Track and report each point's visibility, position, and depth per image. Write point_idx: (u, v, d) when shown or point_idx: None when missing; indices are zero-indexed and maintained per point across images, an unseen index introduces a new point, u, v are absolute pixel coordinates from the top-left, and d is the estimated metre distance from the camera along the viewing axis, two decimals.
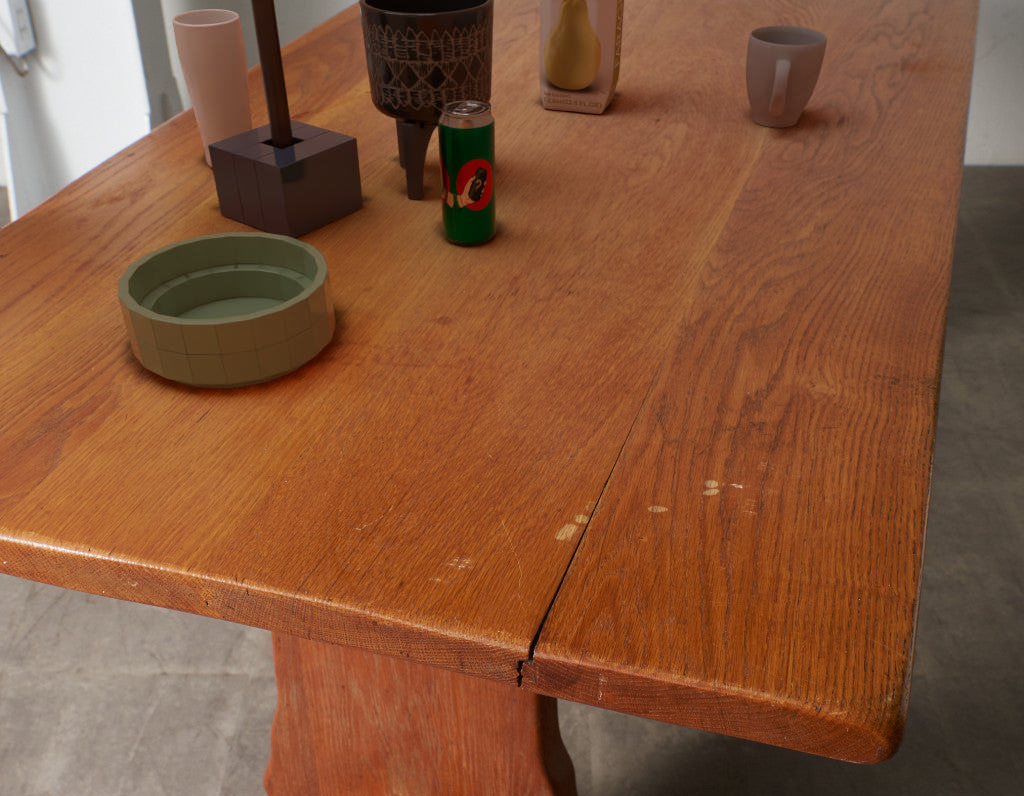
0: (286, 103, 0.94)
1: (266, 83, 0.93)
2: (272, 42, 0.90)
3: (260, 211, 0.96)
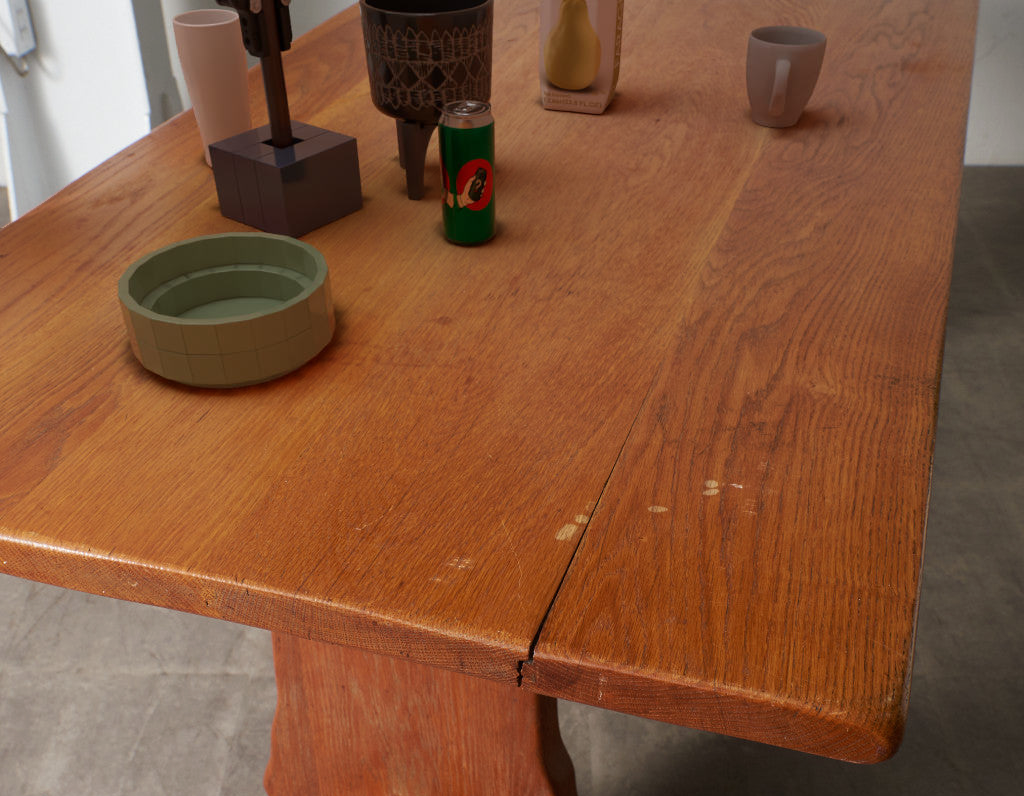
0: (287, 103, 0.94)
1: (266, 83, 0.93)
2: (272, 42, 0.90)
3: (260, 211, 0.96)
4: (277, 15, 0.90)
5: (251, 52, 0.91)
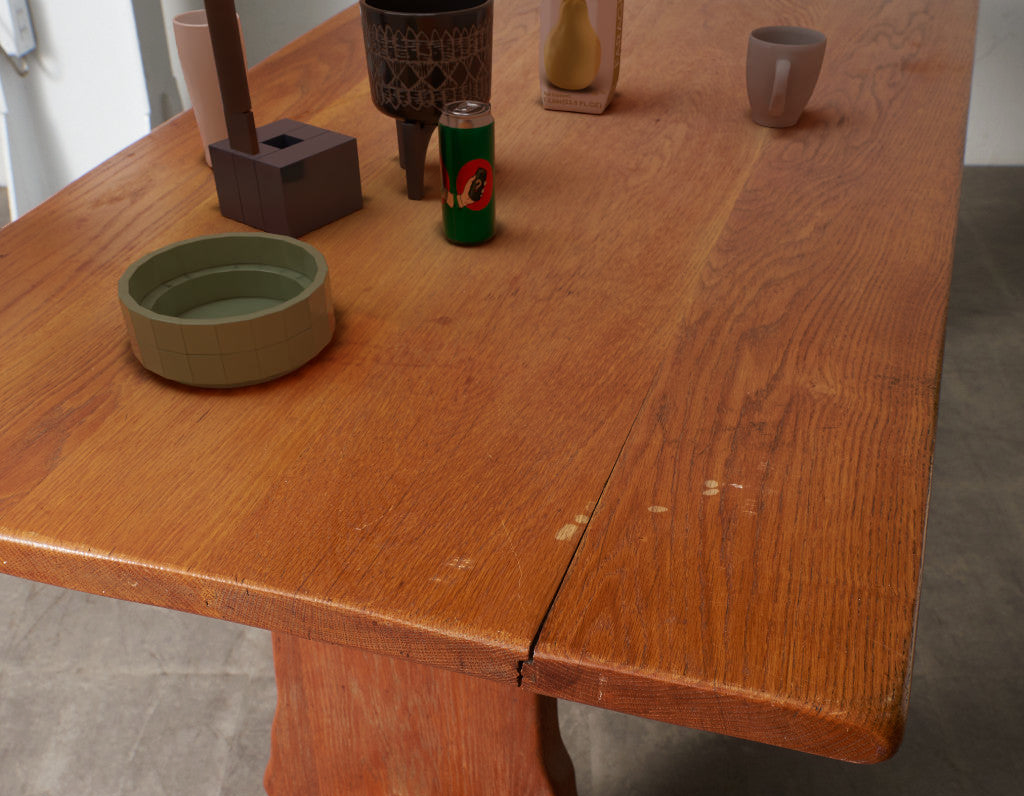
0: None
1: None
2: None
3: (260, 211, 0.96)
4: None
5: None
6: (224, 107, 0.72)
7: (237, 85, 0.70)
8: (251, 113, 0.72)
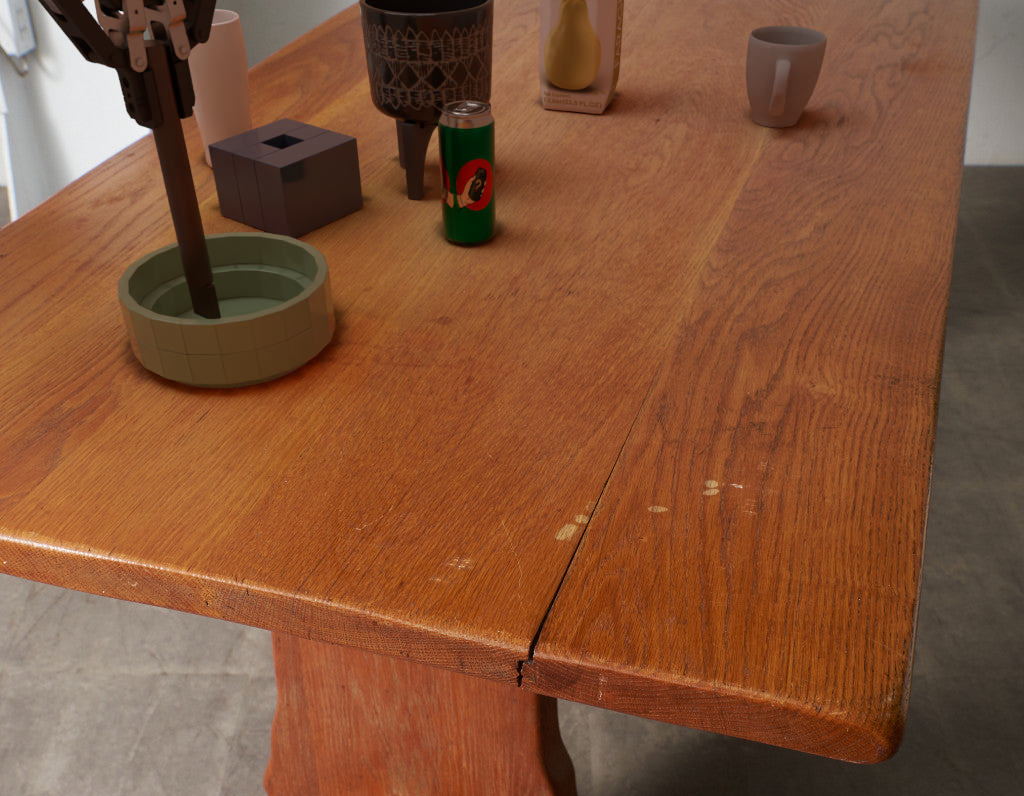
0: (191, 184, 0.72)
1: (162, 160, 0.70)
2: (167, 108, 0.68)
3: (260, 211, 0.96)
4: (172, 72, 0.68)
5: (139, 121, 0.68)
6: (187, 281, 0.76)
7: (199, 263, 0.75)
8: (212, 286, 0.76)
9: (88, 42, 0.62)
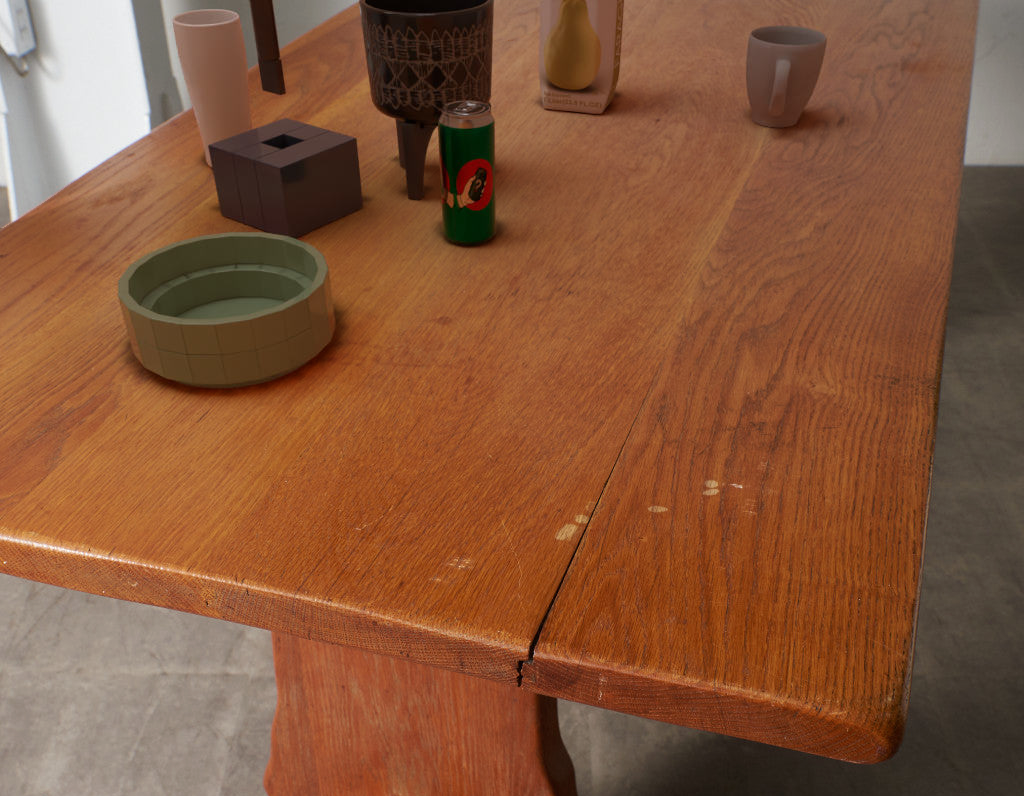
0: None
1: None
2: None
3: (260, 211, 0.96)
4: None
5: None
6: (258, 55, 0.90)
7: (269, 38, 0.89)
8: (280, 60, 0.91)
9: None
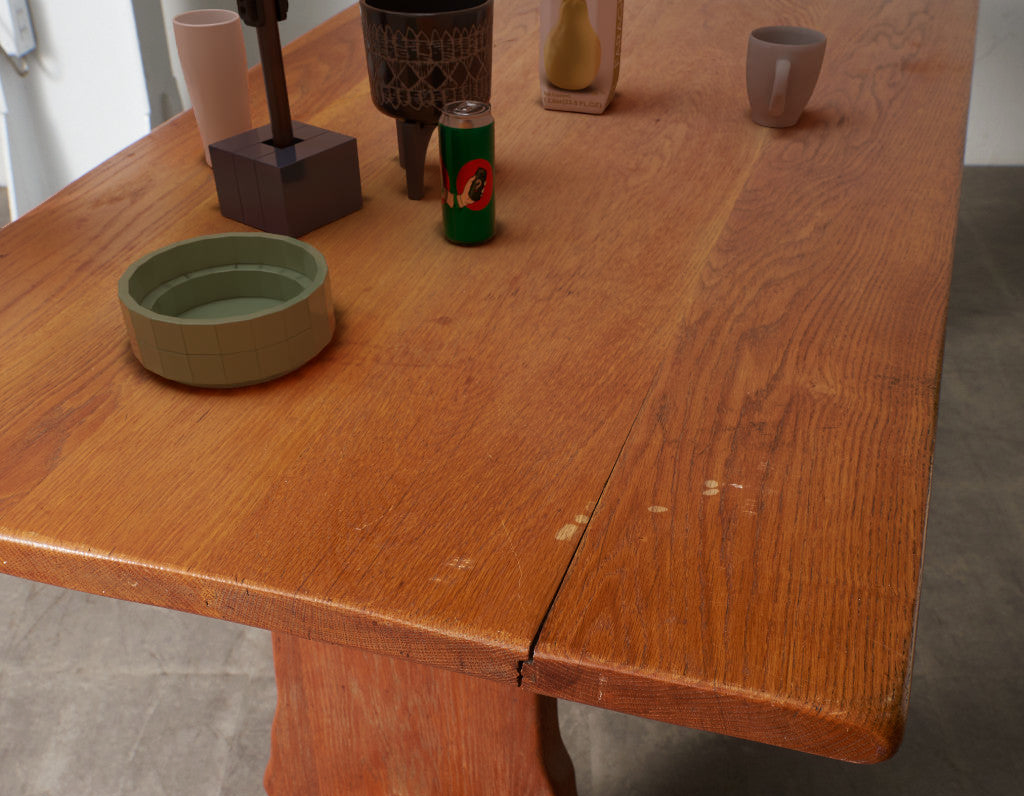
0: (283, 75, 0.93)
1: (262, 54, 0.91)
2: (269, 11, 0.89)
3: (260, 211, 0.96)
4: None
5: (246, 22, 0.89)
6: None
7: (286, 140, 0.96)
8: None
9: None
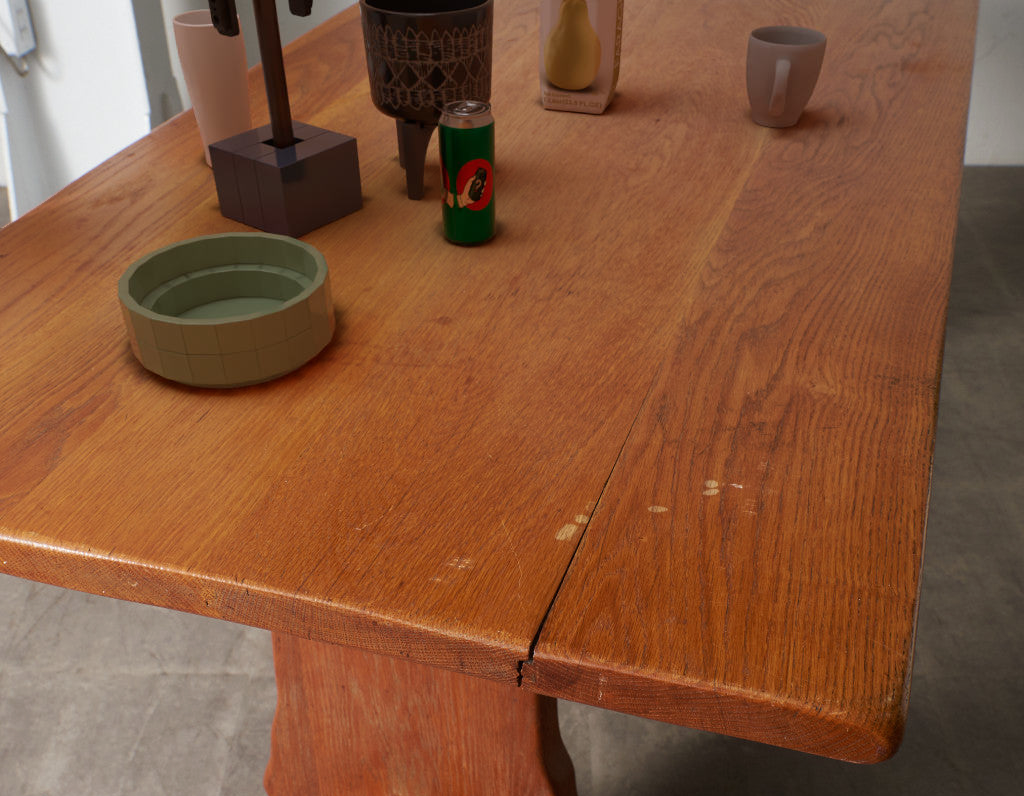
0: (288, 103, 0.94)
1: (267, 83, 0.93)
2: (273, 42, 0.90)
3: (260, 211, 0.96)
4: None
5: (220, 31, 0.88)
6: None
7: None
8: None
9: None
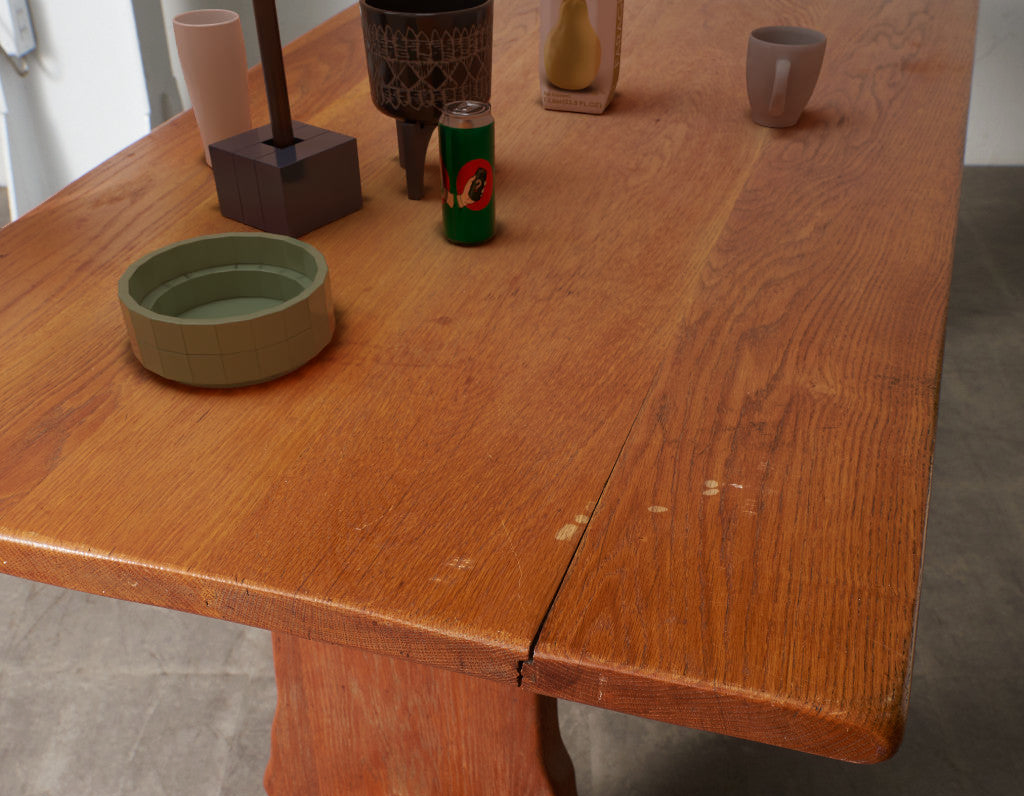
0: (288, 103, 0.94)
1: (267, 83, 0.93)
2: (273, 42, 0.90)
3: (260, 211, 0.96)
4: None
5: None
6: None
7: None
8: None
9: None
